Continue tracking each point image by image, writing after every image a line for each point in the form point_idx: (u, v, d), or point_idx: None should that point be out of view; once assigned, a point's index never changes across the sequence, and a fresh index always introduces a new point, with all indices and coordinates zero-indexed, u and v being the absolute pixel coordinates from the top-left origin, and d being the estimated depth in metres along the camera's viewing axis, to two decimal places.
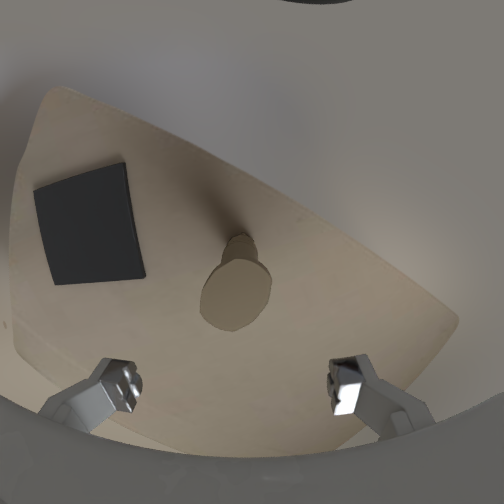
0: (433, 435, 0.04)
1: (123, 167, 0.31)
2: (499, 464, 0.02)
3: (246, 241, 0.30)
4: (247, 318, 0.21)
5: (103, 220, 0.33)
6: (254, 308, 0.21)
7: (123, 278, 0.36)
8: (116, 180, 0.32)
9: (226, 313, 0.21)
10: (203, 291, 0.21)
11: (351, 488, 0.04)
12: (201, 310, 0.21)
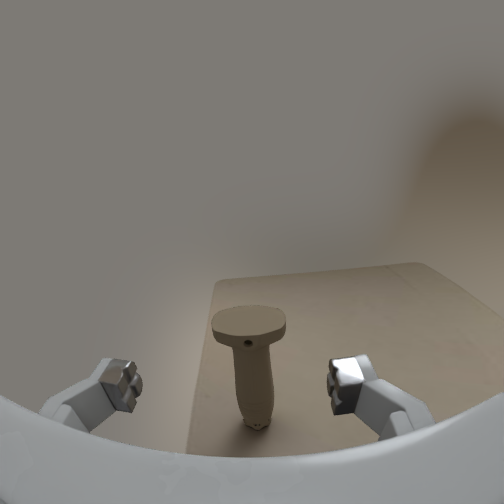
0: (433, 435, 0.04)
1: None
2: (499, 464, 0.02)
3: None
4: (260, 308, 0.25)
5: None
6: (248, 308, 0.25)
7: None
8: None
9: (266, 317, 0.23)
10: (258, 333, 0.21)
11: (351, 488, 0.04)
12: (278, 328, 0.22)
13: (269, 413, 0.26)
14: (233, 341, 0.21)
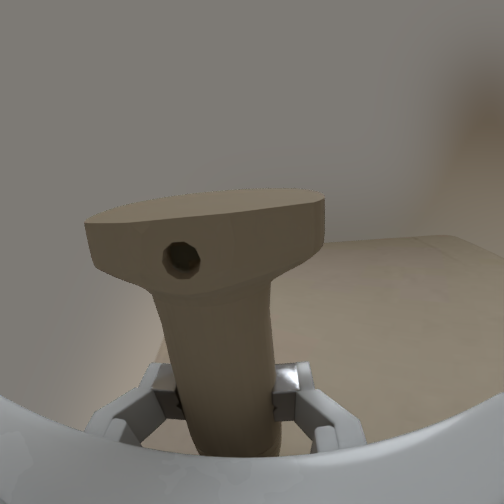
0: (433, 435, 0.04)
1: None
2: (499, 464, 0.02)
3: None
4: (243, 190, 0.09)
5: None
6: (210, 193, 0.09)
7: None
8: None
9: (259, 195, 0.07)
10: (223, 211, 0.05)
11: (351, 488, 0.04)
12: (303, 201, 0.06)
13: None
14: (127, 252, 0.05)
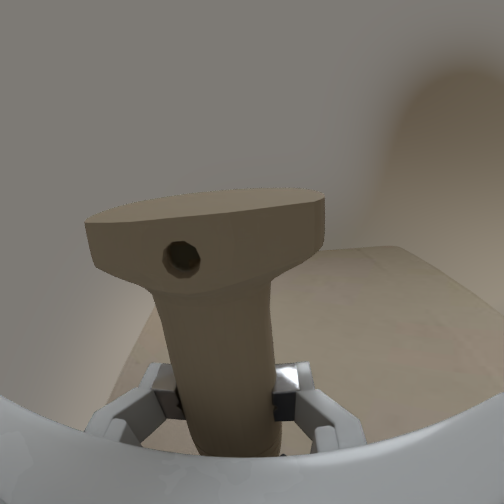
0: (433, 435, 0.04)
1: None
2: (499, 464, 0.02)
3: None
4: (243, 190, 0.09)
5: None
6: (210, 193, 0.09)
7: None
8: None
9: (259, 195, 0.07)
10: (223, 211, 0.05)
11: (351, 488, 0.04)
12: (303, 201, 0.06)
13: None
14: (127, 252, 0.05)
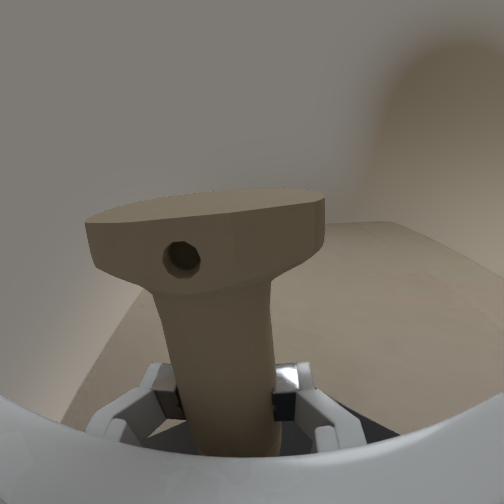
0: (433, 435, 0.04)
1: None
2: (499, 464, 0.02)
3: None
4: (243, 190, 0.09)
5: None
6: (210, 193, 0.09)
7: None
8: None
9: (259, 195, 0.07)
10: (223, 211, 0.05)
11: (351, 488, 0.04)
12: (303, 201, 0.06)
13: None
14: (127, 252, 0.05)
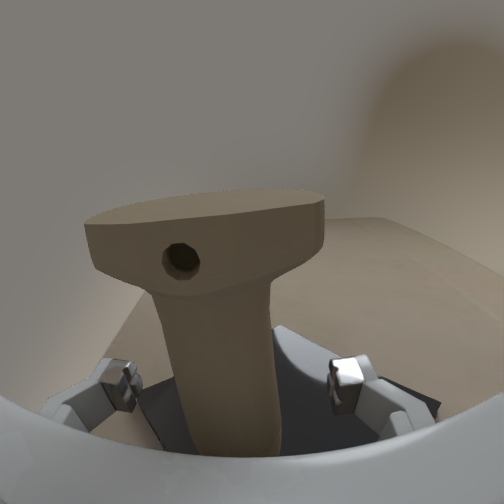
0: (433, 435, 0.04)
1: None
2: (499, 464, 0.02)
3: None
4: (243, 191, 0.09)
5: None
6: (210, 194, 0.09)
7: (301, 338, 0.25)
8: (161, 392, 0.19)
9: (259, 196, 0.07)
10: (222, 213, 0.05)
11: (351, 488, 0.04)
12: (303, 202, 0.06)
13: None
14: (127, 253, 0.05)
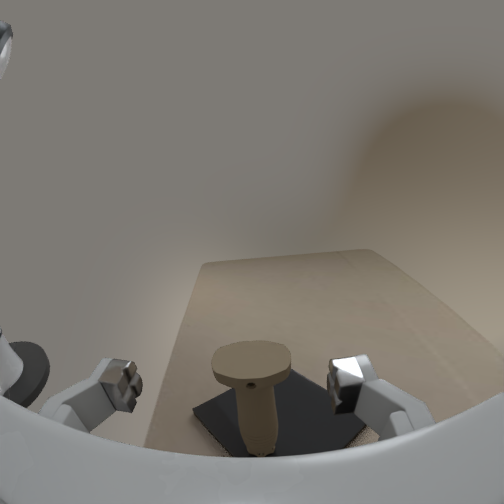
0: (433, 435, 0.04)
1: (196, 407, 0.33)
2: (499, 464, 0.02)
3: None
4: (263, 344, 0.23)
5: None
6: (251, 345, 0.23)
7: (292, 370, 0.39)
8: (209, 407, 0.32)
9: (270, 355, 0.21)
10: (262, 376, 0.19)
11: (351, 488, 0.04)
12: (283, 369, 0.19)
13: (273, 443, 0.23)
14: (235, 383, 0.19)
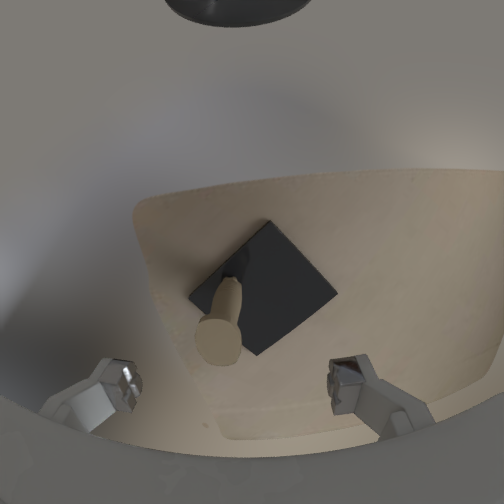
0: (433, 435, 0.04)
1: (273, 224, 0.39)
2: (499, 464, 0.02)
3: (222, 288, 0.36)
4: (236, 351, 0.28)
5: (281, 274, 0.41)
6: (234, 343, 0.28)
7: (321, 305, 0.43)
8: (274, 238, 0.39)
9: (221, 355, 0.28)
10: (198, 350, 0.28)
11: (351, 488, 0.04)
12: (207, 361, 0.28)
13: None
14: None
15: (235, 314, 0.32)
